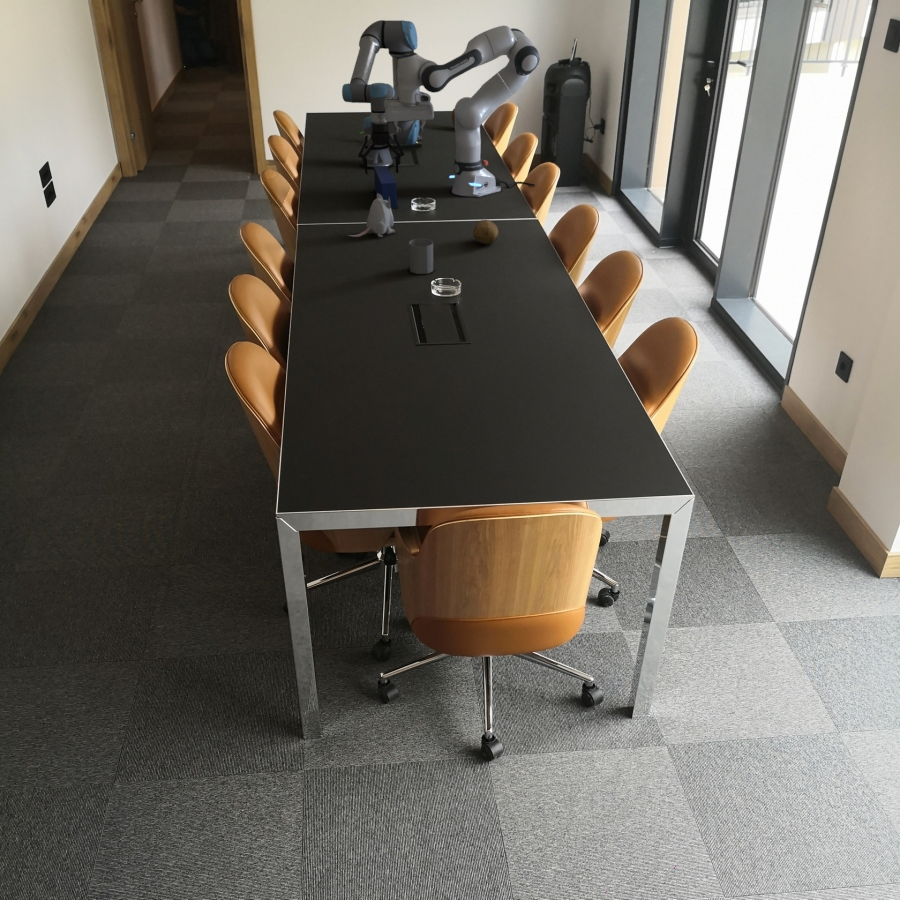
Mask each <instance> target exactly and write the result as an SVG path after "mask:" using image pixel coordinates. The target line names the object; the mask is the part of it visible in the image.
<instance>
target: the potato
mask: <svg viewBox="0 0 900 900" xmlns="http://www.w3.org/2000/svg"><path fill="white" fill-rule="evenodd" d="M472 232H473V233H472V234H473V238H474V239H475V241H477V242H478V243H479V244H482V245H490V244H491V243H493V242H495V241H496V240H497V238H498V235H499V228H498V226H497V225H496V224H495V223H494V222H492V221H491V220H490V219H481V220H480V221H478V222H477V223H476V224H475V225H474V228H473V231H472Z"/></svg>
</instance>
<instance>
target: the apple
mask: <svg viewBox="0 0 900 900" xmlns="http://www.w3.org/2000/svg"><path fill="white" fill-rule="evenodd" d="M454 110H455V107H454V108H452V111H451V121H452V125H453V128H454V129H455V114H454Z"/></svg>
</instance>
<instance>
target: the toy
mask: <svg viewBox="0 0 900 900" xmlns="http://www.w3.org/2000/svg"><path fill="white" fill-rule="evenodd" d="M394 221H395V219H394V215H393V209H391V204H390V198H389V199H388V201H386V200H383V198H382V196H381V195H380V194H379V193H377V194H376V198H375V199H374V200H373V201H372V203H371V205H370V208H369V212H368V216H367V218H366V222H365V223H366V224H365V225H366V229H365V230H364V231H361V232H360V233H359V234H354V235H353V234H347V237H352V238H359V237H362V236H364V235H366V234H370V235H372V234H375V235H377V237H378V238H383V237H384V234H386V235H390V234H395V233H396V230H395V229H393V226H394V223H395V222H394Z"/></svg>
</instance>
